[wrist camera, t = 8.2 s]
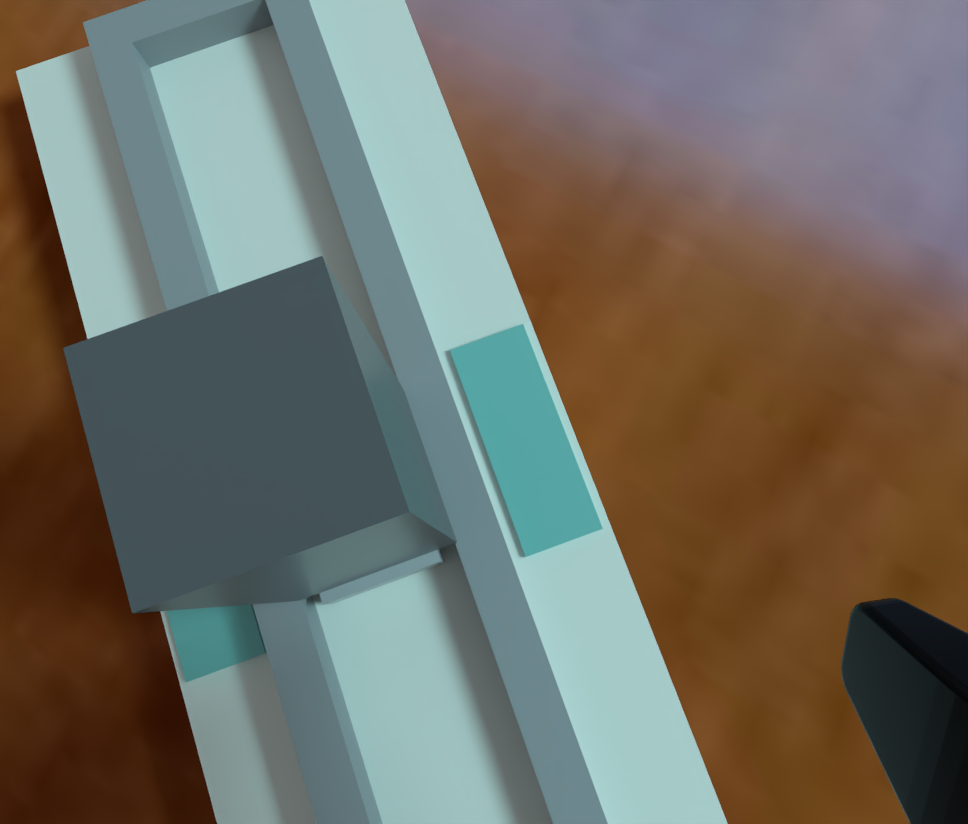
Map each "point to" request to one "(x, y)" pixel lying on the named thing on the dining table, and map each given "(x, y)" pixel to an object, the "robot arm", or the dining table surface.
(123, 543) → the fader
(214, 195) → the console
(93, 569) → the dining table surface
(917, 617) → the robot arm
